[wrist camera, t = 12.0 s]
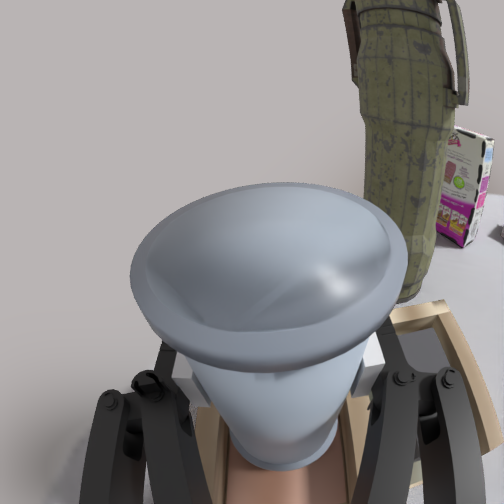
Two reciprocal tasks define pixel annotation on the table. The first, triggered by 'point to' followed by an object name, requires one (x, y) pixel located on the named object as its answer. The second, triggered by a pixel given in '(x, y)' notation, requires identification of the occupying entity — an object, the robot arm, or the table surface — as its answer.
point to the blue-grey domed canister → (272, 306)
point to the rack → (339, 432)
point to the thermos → (406, 113)
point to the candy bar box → (464, 185)
